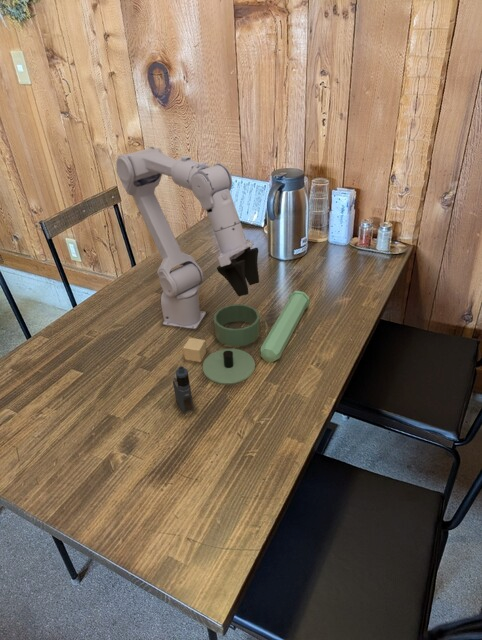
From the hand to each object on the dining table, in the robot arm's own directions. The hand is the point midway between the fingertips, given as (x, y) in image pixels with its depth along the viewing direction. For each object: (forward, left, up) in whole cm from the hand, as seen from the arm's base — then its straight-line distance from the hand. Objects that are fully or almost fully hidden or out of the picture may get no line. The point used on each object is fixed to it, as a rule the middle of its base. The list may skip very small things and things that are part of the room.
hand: (249, 289), depth 94 cm
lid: (-4, -4, -19) cm, 20 cm away
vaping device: (-9, -18, -20) cm, 28 cm away
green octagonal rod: (+5, +12, -20) cm, 23 cm away
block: (-13, -2, -19) cm, 24 cm away
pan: (-6, +9, -19) cm, 22 cm away
